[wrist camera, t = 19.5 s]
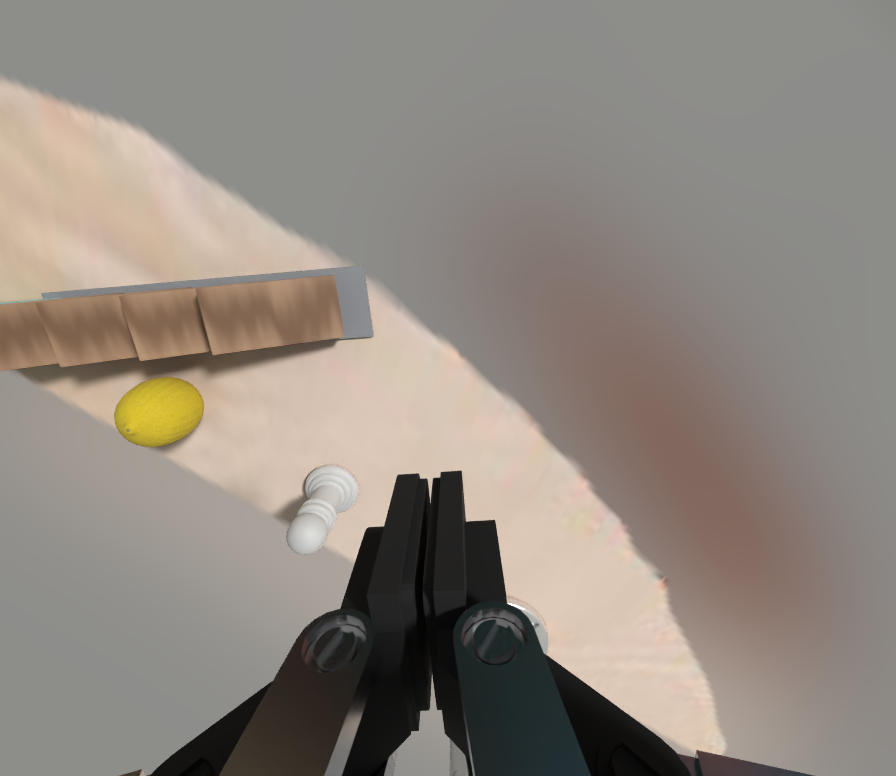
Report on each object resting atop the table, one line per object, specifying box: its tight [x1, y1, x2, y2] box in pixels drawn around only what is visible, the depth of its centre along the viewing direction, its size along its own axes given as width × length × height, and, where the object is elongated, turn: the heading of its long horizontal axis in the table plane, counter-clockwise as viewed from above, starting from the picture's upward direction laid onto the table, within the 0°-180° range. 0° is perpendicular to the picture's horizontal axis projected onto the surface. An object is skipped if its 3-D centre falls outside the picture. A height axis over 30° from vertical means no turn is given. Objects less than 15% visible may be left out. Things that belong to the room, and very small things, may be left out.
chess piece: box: [287, 465, 359, 555], centre depth 38 cm, size 5×5×9 cm
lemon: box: [114, 377, 204, 447], centre depth 35 cm, size 6×6×8 cm
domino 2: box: [35, 287, 192, 367], centre depth 34 cm, size 5×2×10 cm
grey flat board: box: [41, 266, 373, 341], centre depth 36 cm, size 6×28×1 cm, turn 95°
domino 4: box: [195, 275, 344, 355], centre depth 33 cm, size 5×2×10 cm
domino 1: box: [0, 293, 123, 371], centre depth 34 cm, size 5×2×10 cm
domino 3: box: [119, 281, 262, 361], centre depth 34 cm, size 5×2×10 cm
